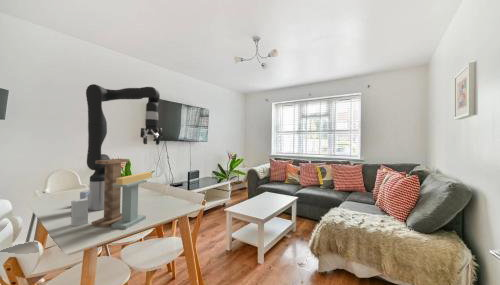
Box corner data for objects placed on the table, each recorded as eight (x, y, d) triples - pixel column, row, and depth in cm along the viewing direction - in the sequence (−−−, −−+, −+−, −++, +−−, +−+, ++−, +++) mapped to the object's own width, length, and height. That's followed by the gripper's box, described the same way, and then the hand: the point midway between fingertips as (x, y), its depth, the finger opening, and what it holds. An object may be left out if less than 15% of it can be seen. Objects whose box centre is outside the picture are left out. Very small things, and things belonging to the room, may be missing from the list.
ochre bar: (116, 184, 98) (116, 178, 98) (146, 177, 120) (146, 172, 120) (122, 185, 97) (122, 178, 97) (151, 177, 119) (152, 172, 119)
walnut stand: (91, 225, 101) (92, 160, 101) (114, 215, 114) (115, 158, 114) (108, 227, 99) (110, 161, 99) (130, 216, 113) (131, 159, 113)
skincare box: (86, 221, 106) (86, 197, 106) (88, 223, 103) (88, 199, 103) (70, 224, 101) (71, 200, 101) (72, 227, 98) (72, 202, 98)
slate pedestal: (111, 227, 99) (112, 184, 99) (132, 217, 112) (133, 179, 112) (126, 229, 97) (127, 185, 97) (145, 218, 111) (146, 179, 111)
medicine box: (85, 206, 129) (85, 192, 129) (79, 205, 130) (79, 192, 130) (96, 202, 137) (97, 189, 137) (91, 202, 138) (91, 189, 138)
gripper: (137, 118, 128) (137, 144, 128) (158, 118, 126) (157, 144, 126) (145, 119, 136) (145, 144, 136) (165, 119, 133) (164, 144, 133)
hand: (151, 144), depth 131 cm, fingers open, 8 cm apart
